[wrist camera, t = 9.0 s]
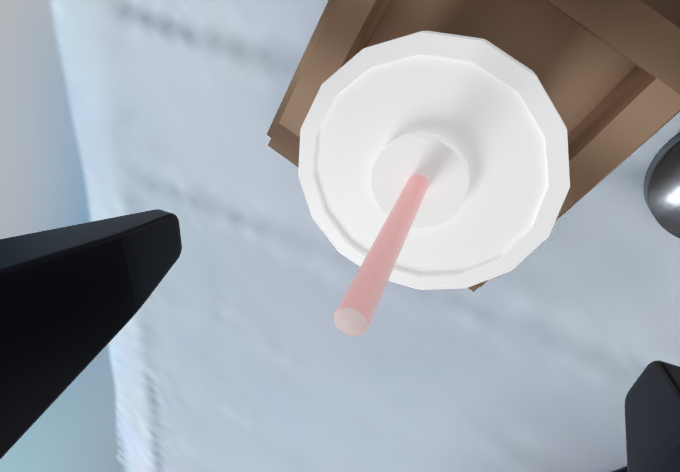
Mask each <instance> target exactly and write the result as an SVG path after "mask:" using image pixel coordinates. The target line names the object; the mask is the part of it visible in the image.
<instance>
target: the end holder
mask: <svg viewBox="0 0 680 472" xmlns="http://www.w3.org/2000/svg"><path fill="white" fill-rule="evenodd" d="M420 31H433V32H440V33H447V34H454V35H461V36H468V37H475V38H482V39H485V40H487V41H489V42H490V43H492V44H493V45H495V46H496V47H498V48H499V49H501V50H502V51H504V52H505V53H507V54H508V55H510V56H511V57H513V58H514V59H516V60H517V61H519V62H520V63H522V64H523V65H525V66H526V67H528V68H529V69H531V70H532V71H533V72H534V73H535V74H536V76H537V77H538V79H539V81H540V82H541V84H542V86H543V88H544V89H545V91H546V93H547V95H548V96H549V98H550V100H551V101H552V103H553V105H554V107H555V108H556V110H557V112H558V114H559V115H560V117H561V119H562V120H563V122H564V124H565V126H566V128H567V136H568V155H569V175H570V188H569V191H568V193H567V195H566V198H565V200H564V202H563V205H562V207H561V209H560V212H559V214H558V216H557V219H558V218H559V217H561V216H562V215H563V214H564V213H565V212H566V211H567V210H569V209H570V208H571V207H572V206H573V205H574V204H575V203H576V202H578V201H579V200H580V199H581V198H582V197H583V196H584V195H586V194H587V193H588V192H589V191H590V190H591V189H592V188H594V187H595V186H596V185H597V184H598V183H599V182H600V181H601V180H603V179H604V178H605V177H606V176H607V175H608V174H609V173H611V172H612V171H613V170H614V169H615V168H616V167H617V166H619V165H620V164H621V163H622V162H623V161H624V160H625V159H627V158H628V157H629V156H630V155H631V154H632V153H633V152H634V151H636V150H637V149H638V148H639V147H640V146H641V145H642V144H644V143H645V142H646V141H647V140H648V139H649V138H650V137H652V136H653V135H654V134H655V133H656V132H657V131H658V130H659V129H661V128H662V127H663V126H664V125H665V124H666V123H667V122H669V121H670V120H671V119H672V118H673V117H674V116H675V115H677V114H678V113H679V112H680V0H329V1H328V3H327V5H326V7H325V10H324V12H323V14H322V16H321V18H320V20H319V23H318V25H317V27H316V29H315V31H314V33H313V36H312V38H311V40H310V42H309V44H308V46H307V49H306V51H305V53H304V55H303V57H302V59H301V62H300V64H299V66H298V68H297V70H296V72H295V75H294V77H293V79H292V81H291V83H290V85H289V88H288V90H287V92H286V94H285V96H284V98H283V101H282V103H281V105H280V107H279V109H278V111H277V114H276V116H275V118H274V120H273V122H272V124H271V127H270V129H269V131H268V133H267V135H268V136H269V137H271V140H270V142H269V144H268V146H269V147H271V148H272V149H274V150H275V151H276V152H278V153H279V154H281V155H282V156H283V157H285V158H286V159H288V160H289V161H290V162H292V163H293V164H295V165H296V166H298V167H299V147H300V129H301V127H302V125H303V123H304V120H305V118H306V116H307V114H308V112H309V110H310V108H311V106H312V104H313V102H314V99H315V97H316V95H317V93H318V91H319V89H320V87H321V85H322V84H323V83H324V82H325V81H326V80H327V79H328V78H330V77H331V76H332V75H333V74H334V73H335V72H337V71H338V70H339V69H340V68H341V67H342V66H344V65H345V64H346V63H347V62H348V61H349V60H350V59H352V58H353V57H354V56H355V55H356V54H357V53H359V52H360V51H361V50H362V49H364V48H366V47H370V46H373V45H376V44H380V43H383V42H387V41H390V40H393V39H397V38H400V37H403V36H407V35H410V34H414V33H417V32H420ZM557 219H556V220H557ZM487 281H488V280H486V281H484V282H481V283H479V284H476V285H473V286H471V287H468V288H469V289H470V290H472V291H473V292H474V291H475V290H476V289H477V288H478V287H481V286H482V285H483V284H484V283H485V282H487Z"/></svg>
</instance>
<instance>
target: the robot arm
mask: <svg viewBox="0 0 680 472" xmlns="http://www.w3.org/2000/svg"><path fill="white" fill-rule="evenodd" d="M181 249H182V244H181V236H180V227H179V220H178V218H177V216H176V215H175V214H173V213H169V212H166V211H163V210H151V211H146V212H141V213H135V214H130V215H125V216H120V217H114V218H109V219H104V220H99V221H94V222H88V223H83V224H78V225H73V226H68V227H63V228H58V229H52V230H47V231H42V232H37V233H31V234H26V235H21V236H16V237H10V238H5V239H0V459H1V458H2V457H3V456H4V455H5V454H6V453H7V451H8V450H9V449H10V448H11V447H12V446H13V445H14V444H15V443H16V442H17V441H18V440H19V438H21V437H22V435H23V434H24V433H25V432H26V431H27V430H28V429H29V428H30V427H31V426H32V425H33V424H34V423H35V421H36V420H37V419H38V418H39V417H40V416H41V415H42V414H43V413H44V412H45V411H46V409H48V407H49V406H50V405H51V404H52V403H53V402H54V401H55V400H56V399H57V398H58V397H59V396H60V395H61V394H62V392H63V391H64V390H65V389H66V388H67V387H68V386H69V385H70V384H71V383H72V382H73V381H74V380H75V379H76V377H77V376H78V375H79V374H80V373H81V372H82V371H83V370H84V369H85V368H86V367H87V366H88V364H89V363H90V362H91V361H92V360H93V359H94V358H95V357H96V356H97V355H98V354H99V353H100V352H101V351H102V349H103V348H104V347H105V346H106V345H107V344H108V343H109V342H110V341H111V340H112V339H113V338H114V337H115V336H116V334H117V333H118V332H119V331H120V330H121V329H122V328H123V327H124V326H125V325H126V324H127V323H128V322H129V320H130V319H131V318H132V317H133V316H134V315H135V314H136V313H137V311H138V310H139V309H140V308H141V306H142V305H143V304H144V303H145V301H146V300H147V299H148V297H149V296H150V295H151V293H152V292H153V291H154V290H155V288H156V287H157V286H158V284H159V283H160V282H161V280H162V279H163V278H164V276H165V275H166V274H167V272H168V271H169V270H170V268H171V267H172V266H173V265H174V263H175V262H176V261H177V259H178V258H179V256H180V253H181ZM625 424H626V446H627V468H628V469H626V470H623V471H621V472H680V367H679V366H675V365H672V364H669V363H665V362H662V361H653V362H651V363H650V364H649V365H648V366H647V367H646V368H645V370H644V371H643V373H642V374H641V375H640V377H639V378H638V379H637V381H636V382H635V383H634V385H633V386H632V387H631V389H630V390H629V392H628V394H627V396H626V399H625Z"/></svg>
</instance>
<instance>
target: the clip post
mask: <svg viewBox="0 0 680 472" xmlns="http://www.w3.org/2000/svg"><path fill="white" fill-rule="evenodd" d="M644 195H645V200H646V203H647V205H648V207H649V209H650V210H651V212H652V214H653V215H654V217H655V218H656V220H657V221H658V223H659V224H660V225H661V226H662V227H663V228H664V229H665V230H667V231H668V232H669V233H671V234H673V235H674V236H676V237H678V238H680V133H679V134H678V135H676V136H675V137H674V138H673V139H671V140H670V141H669V142H668V143H667V144H666V145H665V146H664V147H662V149H661V150H660V151H659V152H658V153H657V155H656V156H655V157H654V159H653V160H652V162H651V164H650V166H649V168H648V170H647V173H646V176H645V181H644Z"/></svg>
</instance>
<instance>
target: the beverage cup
mask: <svg viewBox="0 0 680 472" xmlns="http://www.w3.org/2000/svg"><path fill="white" fill-rule="evenodd" d="M298 176H299V180H300V183H301V186H302V189H303V192H304V195H305V198H306V201H307V204H308V207H309V210H310V213H311V216H312V218H313V219H314V221H315V222H316V223H317V225H318V226H319V227H320V228H321V230H322V231H323V232H324V234H325V235H326V236H327V238H328V239H329V240H330V241H331V243H332V244H333V245H334V247H335V248H336V249H337V250H338V252H339V253H341V254H342V255H344V256H345V257H347V258H348V259H350V260H351V261H352V262H354V263H355V264H357V265H358V266H360V268H359V270H358V272H357V274H356V275H355V277H354V279H353V281H352V283H351V284H350V286H349V288H348V290H347V292H346V294H345V295H344V297H343V299H342V301H341V303H340V304H339V306H338V308H337V310H336V312H335V314H334V322H335V325H336V326H337V328H338V329H339V330H340V331H342V332H343V333H345V334H347V335H350V336H360V335H363V334H364V333H365V332H366V331H367V329H368V327H369V324H370V322H371V320H372V317H373V315H374V313H375V310H376V308H377V306H378V303H379V301H380V299H381V296H382V294H383V292H384V289H385V287H386V285H387V282H388V281H391V282H394V283H397V284H401V285H404V286H408V287H411V288H415V289H418V290H430V289H462V288H468V287H471V286H473V285H476V284H479V283H481V282H484V281H486V280H489V279H491V278H494V277H497V276H499V275H502V274H504V273H507V272H510V271H512V270H513V269H514V268H515V267H516V266H517V265H518V264H519V263H520V262H521V261H523V260H524V259H525V258H526V257H527V256H528V255H529V254H530V253H531V252H532V251H533V250H535V249H536V248H537V247H538V246H539V245H540V244H541V243H542V242H543V241H544V240H545V239H546V238H548V237H549V235H550V233H551V230H552V228H553V226H554V223H555V221H556V219H557V216H558V214H559V212H560V209H561V207H562V205H563V202H564V200H565V198H566V195H567V193H568V191H569V188H570V175H569V155H568V136H567V128H566V126H565V124H564V122H563V120H562V119H561V117H560V115H559V114H558V112H557V110H556V108H555V107H554V105H553V103H552V101H551V100H550V98H549V96H548V95H547V93H546V91H545V89H544V88H543V86H542V84H541V82H540V81H539V79H538V77H537V76H536V74H535V73H534V72H533V71H532V70H531V69H529V68H528V67H526V66H525V65H523V64H522V63H520V62H519V61H517V60H516V59H514V58H513V57H511V56H510V55H508V54H507V53H505V52H504V51H502V50H501V49H499V48H498V47H496V46H495V45H493V44H492V43H490V42H489V41H487V40H485V39H482V38H475V37H468V36H461V35H454V34H447V33H440V32H433V31H420V32H417V33H414V34H410V35H407V36H403V37H400V38H397V39H393V40H390V41H387V42H383V43H380V44H376V45H373V46H370V47H366V48H364V49H362V50H361V51H360V52H359V53H357V54H356V55H355V56H354V57H353V58H352V59H350V60H349V61H348V62H347V63H346V64H345V65H344V66H342V67H341V68H340V69H339V70H338V71H337V72H335V73H334V74H333V75H332V76H331V77H330V78H328V79H327V80H326V81H325V82H324V83H323V84H322V85H321V87H320V89H319V91H318V93H317V95H316V97H315V99H314V102H313V104H312V106H311V108H310V110H309V112H308V114H307V116H306V118H305V120H304V123H303V125H302V127H301V129H300V147H299V168H298Z"/></svg>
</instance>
